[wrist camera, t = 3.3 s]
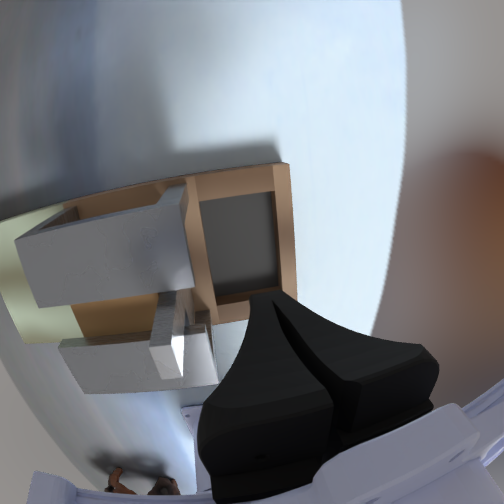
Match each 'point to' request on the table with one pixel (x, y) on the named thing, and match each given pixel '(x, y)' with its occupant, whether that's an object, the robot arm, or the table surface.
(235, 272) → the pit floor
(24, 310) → the board
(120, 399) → the table surface
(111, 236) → the tunnel
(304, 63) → the table surface
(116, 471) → the brown headphones
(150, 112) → the table surface
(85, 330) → the block
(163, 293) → the paddle
